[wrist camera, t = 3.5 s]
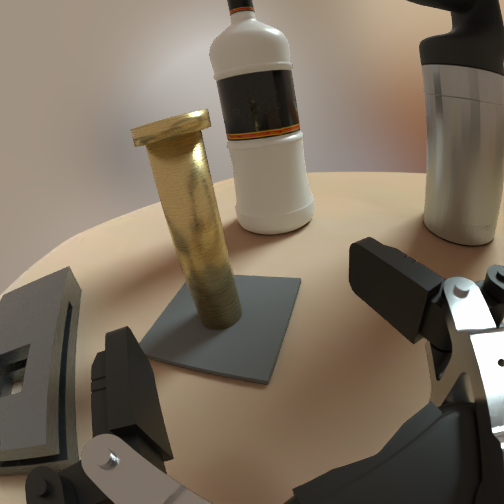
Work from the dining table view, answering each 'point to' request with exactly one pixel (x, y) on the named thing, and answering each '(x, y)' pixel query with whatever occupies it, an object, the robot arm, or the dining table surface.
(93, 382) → the robot arm
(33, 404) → the slotted grey base plate
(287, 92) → the vodka
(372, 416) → the dining table surface
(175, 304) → the rubber mat
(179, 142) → the brass pin
